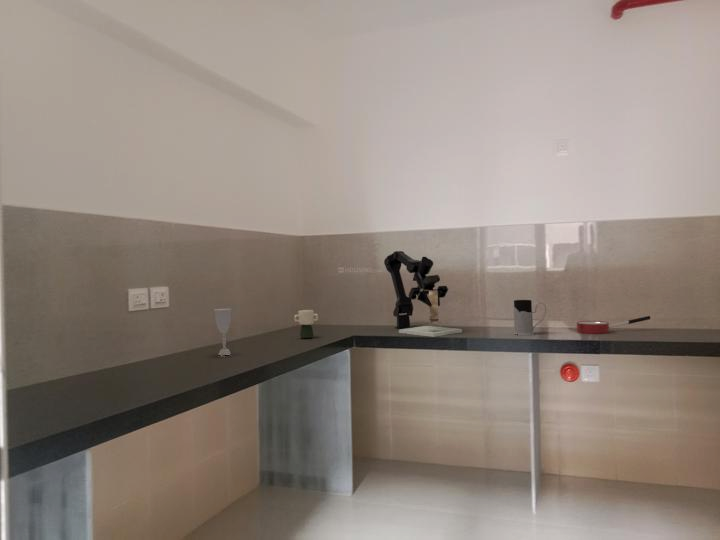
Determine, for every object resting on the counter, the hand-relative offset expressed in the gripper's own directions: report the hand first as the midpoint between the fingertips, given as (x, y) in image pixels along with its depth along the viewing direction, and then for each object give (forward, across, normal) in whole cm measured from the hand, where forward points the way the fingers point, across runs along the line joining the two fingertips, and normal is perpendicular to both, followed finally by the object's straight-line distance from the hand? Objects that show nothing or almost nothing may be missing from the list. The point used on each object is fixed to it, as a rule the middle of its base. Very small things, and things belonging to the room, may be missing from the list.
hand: (435, 305), depth 243 cm
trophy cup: (-9, -54, +29) cm, 62 cm away
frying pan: (+35, +69, -16) cm, 79 cm away
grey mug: (+25, +35, -6) cm, 43 cm away
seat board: (+3, +2, +16) cm, 16 cm away
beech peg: (+5, 0, +7) cm, 8 cm away
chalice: (+10, -95, +10) cm, 96 cm away
